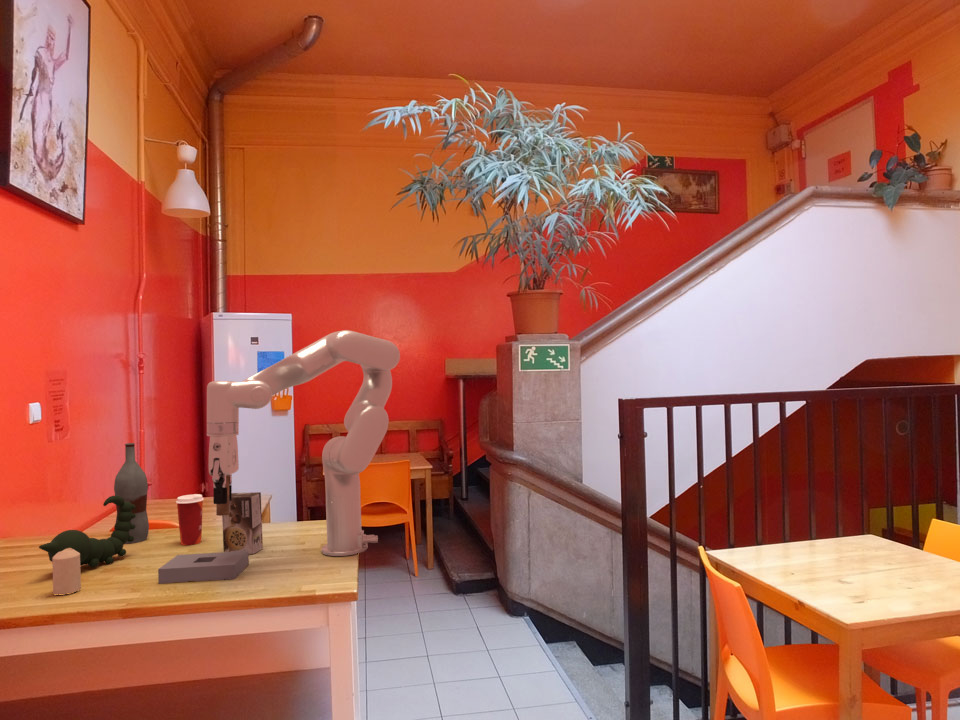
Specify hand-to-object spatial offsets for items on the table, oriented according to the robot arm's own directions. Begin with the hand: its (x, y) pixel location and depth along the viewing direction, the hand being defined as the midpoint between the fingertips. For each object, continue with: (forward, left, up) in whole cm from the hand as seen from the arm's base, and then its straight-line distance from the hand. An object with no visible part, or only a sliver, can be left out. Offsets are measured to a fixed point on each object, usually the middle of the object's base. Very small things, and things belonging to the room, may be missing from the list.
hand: (222, 501), depth 161 cm
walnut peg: (0, 0, -3) cm, 3 cm away
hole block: (+5, 0, -18) cm, 19 cm away
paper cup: (+20, -32, -18) cm, 42 cm away
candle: (+34, +8, -18) cm, 39 cm away
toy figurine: (+39, -12, -18) cm, 45 cm away
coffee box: (+1, -19, -18) cm, 27 cm away
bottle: (+40, -39, -18) cm, 59 cm away
